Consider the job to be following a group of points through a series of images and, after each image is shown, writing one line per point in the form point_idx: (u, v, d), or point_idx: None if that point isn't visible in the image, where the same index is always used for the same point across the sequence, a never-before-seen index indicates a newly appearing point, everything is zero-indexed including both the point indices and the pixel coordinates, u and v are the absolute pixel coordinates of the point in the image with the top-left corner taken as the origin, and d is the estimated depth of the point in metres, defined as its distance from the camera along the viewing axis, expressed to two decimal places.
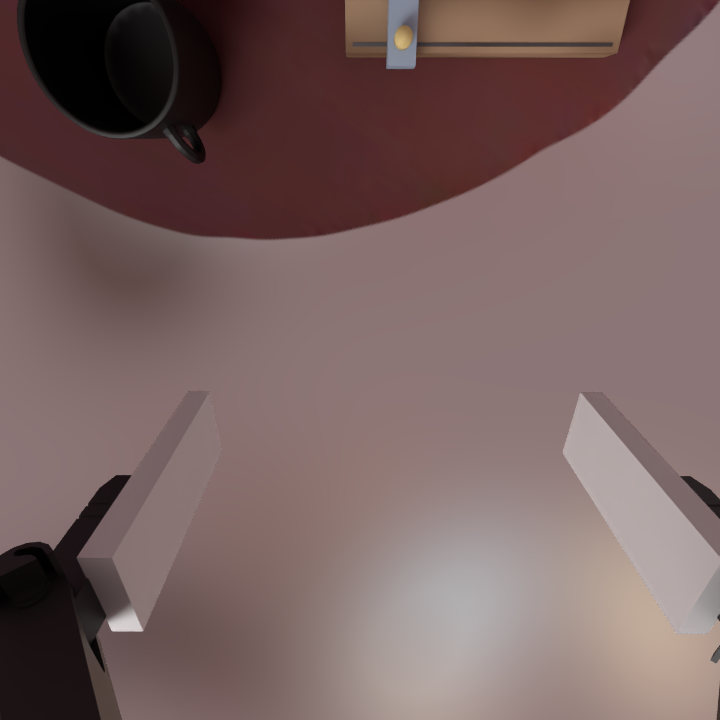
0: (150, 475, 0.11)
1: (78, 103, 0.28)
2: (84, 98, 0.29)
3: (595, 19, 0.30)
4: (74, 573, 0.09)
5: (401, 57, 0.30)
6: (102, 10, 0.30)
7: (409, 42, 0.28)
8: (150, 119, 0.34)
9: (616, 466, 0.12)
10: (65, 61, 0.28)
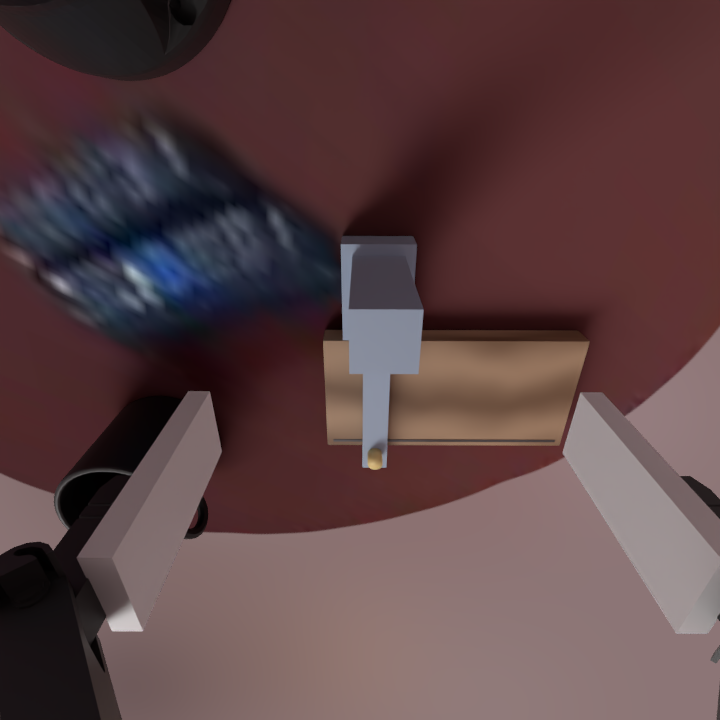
0: (150, 475, 0.11)
1: None
2: None
3: (539, 427, 0.35)
4: (74, 573, 0.09)
5: None
6: None
7: (379, 467, 0.34)
8: None
9: (616, 466, 0.12)
10: (90, 481, 0.34)
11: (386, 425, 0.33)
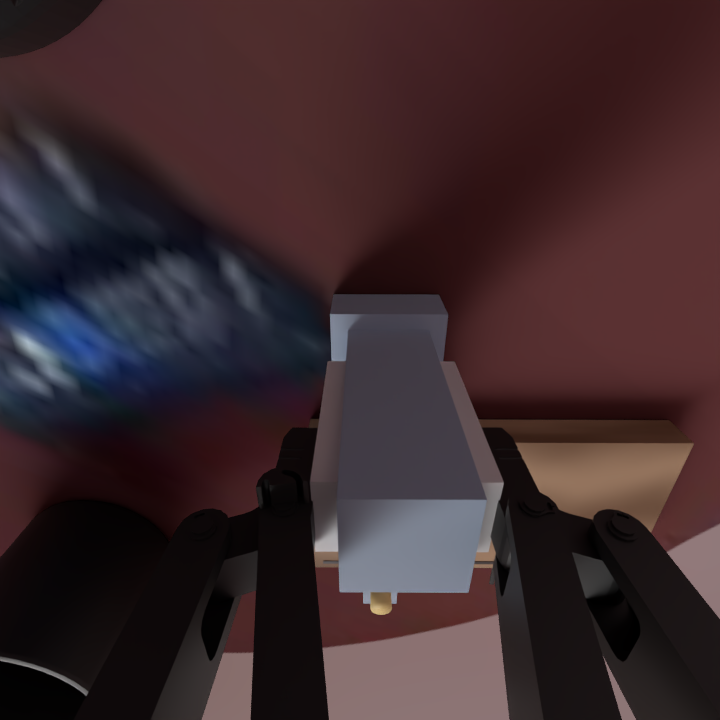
0: (334, 424, 0.13)
1: None
2: None
3: None
4: None
5: None
6: None
7: (387, 612, 0.24)
8: None
9: None
10: None
11: None
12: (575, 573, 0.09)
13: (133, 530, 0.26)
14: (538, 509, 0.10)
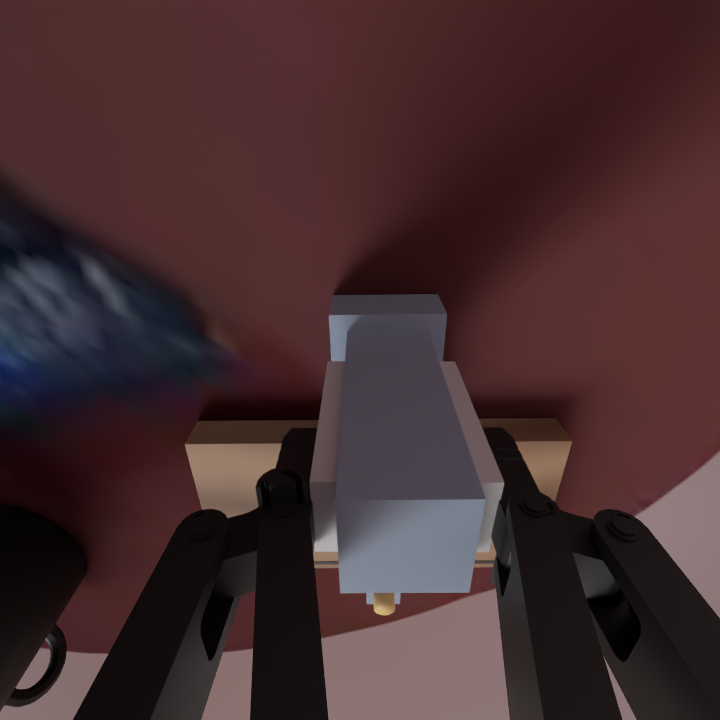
0: (333, 424, 0.13)
1: None
2: None
3: None
4: None
5: None
6: None
7: (391, 612, 0.24)
8: None
9: None
10: None
11: None
12: (576, 573, 0.09)
13: (35, 533, 0.26)
14: (539, 509, 0.10)
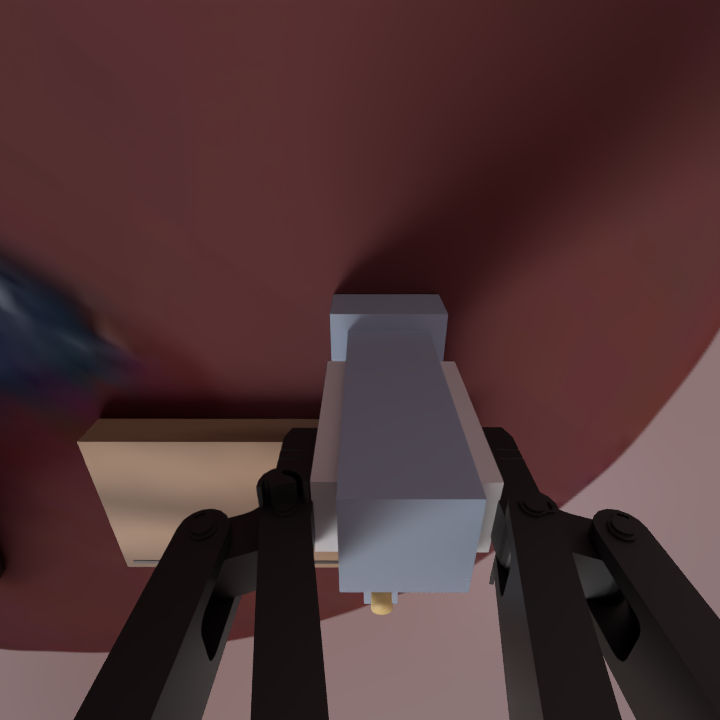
0: (334, 424, 0.13)
1: None
2: None
3: None
4: None
5: None
6: None
7: (388, 612, 0.24)
8: None
9: None
10: None
11: None
12: (575, 573, 0.09)
13: None
14: (538, 509, 0.10)
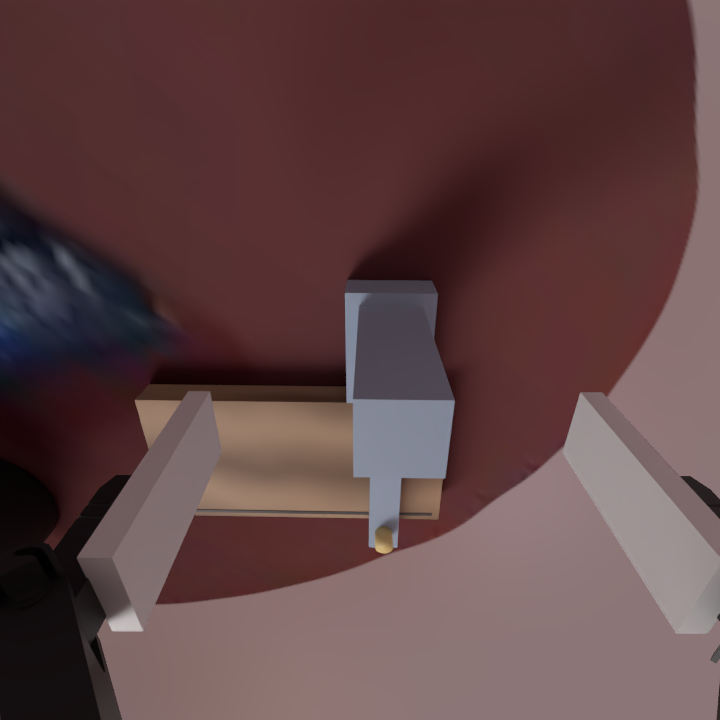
0: (150, 475, 0.11)
1: None
2: None
3: (410, 498, 0.30)
4: (74, 573, 0.09)
5: None
6: None
7: (389, 550, 0.28)
8: None
9: (616, 466, 0.12)
10: None
11: (398, 501, 0.28)
12: None
13: (13, 480, 0.31)
14: None
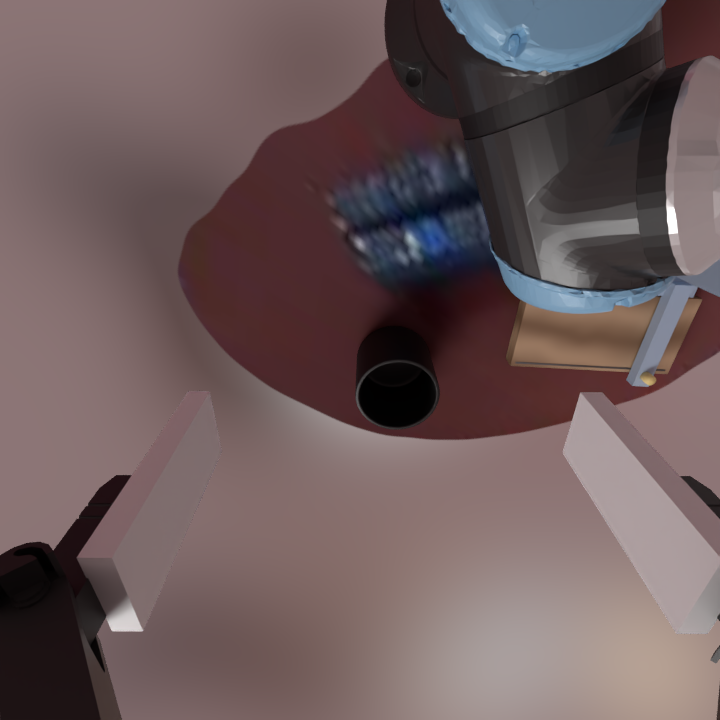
0: (150, 475, 0.11)
1: (365, 402, 0.50)
2: (363, 393, 0.51)
3: None
4: (74, 573, 0.09)
5: (641, 382, 0.52)
6: None
7: (653, 383, 0.50)
8: (379, 381, 0.56)
9: (616, 466, 0.12)
10: None
11: (661, 355, 0.50)
12: None
13: (423, 341, 0.52)
14: None
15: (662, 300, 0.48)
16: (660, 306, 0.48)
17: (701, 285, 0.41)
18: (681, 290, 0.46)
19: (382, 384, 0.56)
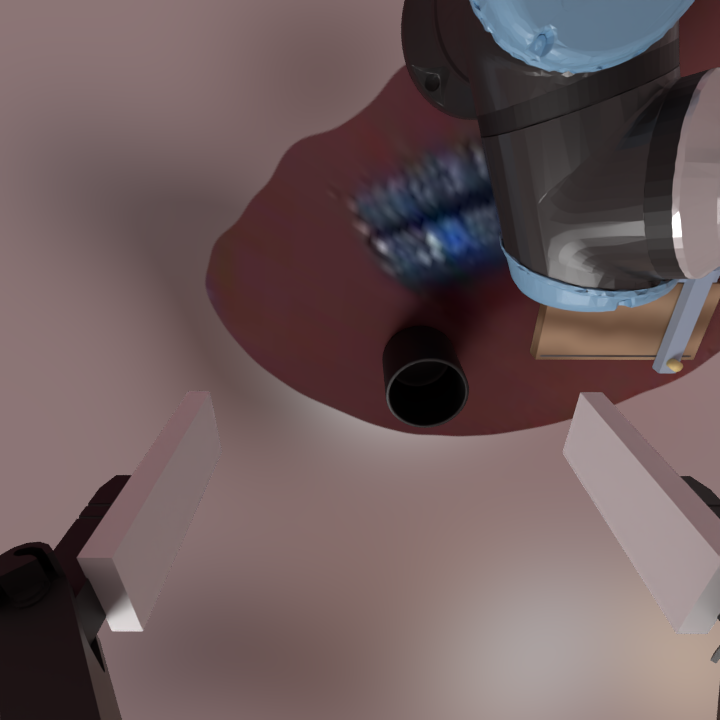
0: (150, 475, 0.11)
1: (395, 402, 0.51)
2: (392, 393, 0.52)
3: None
4: (74, 573, 0.09)
5: (668, 369, 0.52)
6: None
7: (679, 369, 0.51)
8: (405, 380, 0.57)
9: (616, 466, 0.12)
10: None
11: (687, 341, 0.50)
12: None
13: (447, 339, 0.53)
14: None
15: (685, 286, 0.48)
16: (684, 292, 0.48)
17: None
18: (705, 276, 0.46)
19: (408, 384, 0.57)
